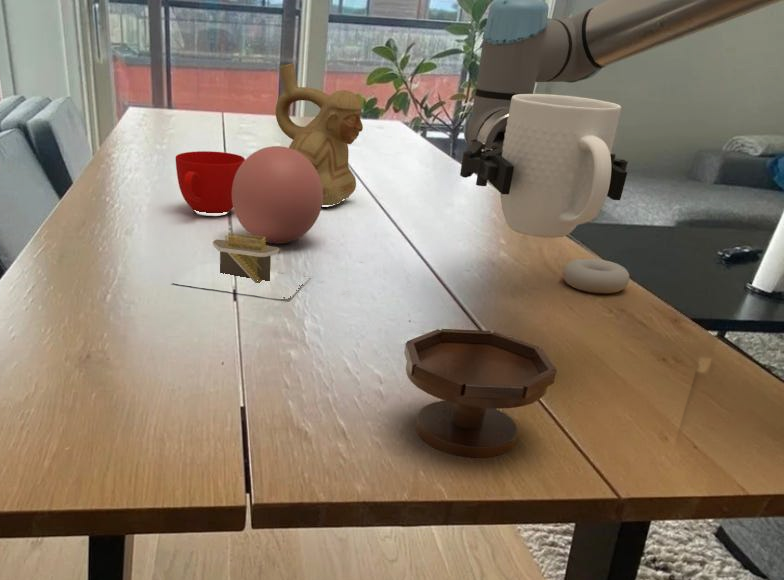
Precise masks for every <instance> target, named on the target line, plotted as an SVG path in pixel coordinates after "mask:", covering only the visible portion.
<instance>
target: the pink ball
mask: <svg viewBox="0 0 784 580" xmlns="http://www.w3.org/2000/svg"><path fill="white" fill-rule="evenodd" d="M244 159H245V161H244V162H243V163H242V164H241V166H240V167H239V169H238V170H237V172H236V175H235V177H234V180H233V185H232V204H233V208H232V209H233V211H234V214H235V216H236V218H237V220H238V222H239V223H240V225H241V226H242V228H244V230H245V231H247V233H249V235H251V236H252V237H253V236H259V237H260V240H262V239H263V238H262V237H266V242H265V243H269V242H270V244H287V243H290V242H293V241H296V240H298V239H300V238H301V237H303V236H304V235H305V234H307V232H309V231H310V230H311V229H312V228H313V226H314V225H315V223H316V222H317V220H318V218H319V216H320V214H321V211H322V208H321V207H322V202H323V189H322V183H321V180H320V177H319V175H318V172H317V170H316V169H315V167H314V166H313V164H312V163H311V162H310V161H309V160H308V159H307V158H306V157H305V156H304V155H302V154H301V153H299V152H298V151H296V150H293V149H291V148H289V147H286V146H282V145H273V146H266V147H263V148H260V149H258V150H256V151H254V152H253V153H251V154H250V155H249V156H247V157H246V158H244ZM255 239H258V237H255Z"/></svg>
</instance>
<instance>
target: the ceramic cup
mask: <svg viewBox="0 0 784 580" xmlns="http://www.w3.org/2000/svg"><path fill="white" fill-rule="evenodd" d="M245 159H246V158H245V157H244V156H243V155H239V154H235V153H230V152H224V151H223V152H222V151H213V150H212V151H206V150H205V151H204V150H203V151H202V150H201V151H198V150H197V151H187V152H182V153H178V154H176V156H175V168H176V177H177V183H178V187H179V191H180V193H181V195H182V198H183V200H184V202H186V204H187V205H188V206H189V208H190V209H191V210H192V209H193V210H196V211H199V212H206V213H223V212H228V211H229V212H231V210H232V209H234V208H233V204H232V185H233V180H234V177H235V175H236V172H237V170H238V169H239V167H240V166H241V164H242V163H243V162H244V161H245ZM193 210H192V211H193Z"/></svg>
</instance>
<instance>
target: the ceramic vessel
mask: <svg viewBox="0 0 784 580" xmlns="http://www.w3.org/2000/svg"><path fill="white" fill-rule="evenodd" d="M278 69H279V72H280V76H281V80H282V85H283V92H282V93H281V94H280V96H279V97H278V99H277V101H276V105H275V118H276V119H275V120H276V122H277V125H278V127H279V129H280V130H281V132H283V134H285V135H286V137H288V138H289V139H290V140H292V141H291V142H290V145H288V148H291V149H293V150H296V151H298V152H299V153H301V154H302V155H304V156H305V157H306V158H307V159H308V160H309V161H310V162H311V163H312V164H313V166H314V167H315V169H316V170H317V172H318V175H319V177H320V180H321V183H322V189H323V202H322V205H333V204H337V203H339V202H341V201H342V200H343V199H346V198H348V199H349V198H350V196H351V195H352V194H353V193H354V192H355V190H356V188H357V179H356V176H355V175H354V173H353V171H352V170H351V169H350V167H349V145H351V144H353V143H354V141H355V140H357V139H358V137H359V135H360V133H361V132H362V131H363V129H364V126H363V122H362V119H361V118H362V110H363V108H364V106H363V103H362V101H361V99H360V97H359V96H358V95H357V94H356V93H354V92H352V91H350V90H345V89H339V90H336V91H334V92H332V93H331V94H329V93H327V92H324V91H322V90H319V89H317V88H313V87H307V86H299V85H298V83H297V77H296V68H295V63H287V64H284V65H280V66H279V67H278ZM301 101H308V102H311V103H313V104H314V105H316V106H317V107H318V108H320V110H319V112H318V113H317V115H316V116H315V117H314V118H313V119H312V120H311V121H310V122H309V123H307V125H306V126H300V125H298V124H296V123H295V122H293V120H292V119H291V117H290V114H289V109H290V106H291V105H292V104H294V103H295V102H301ZM341 203H342V202H341ZM339 204H340V203H339Z"/></svg>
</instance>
